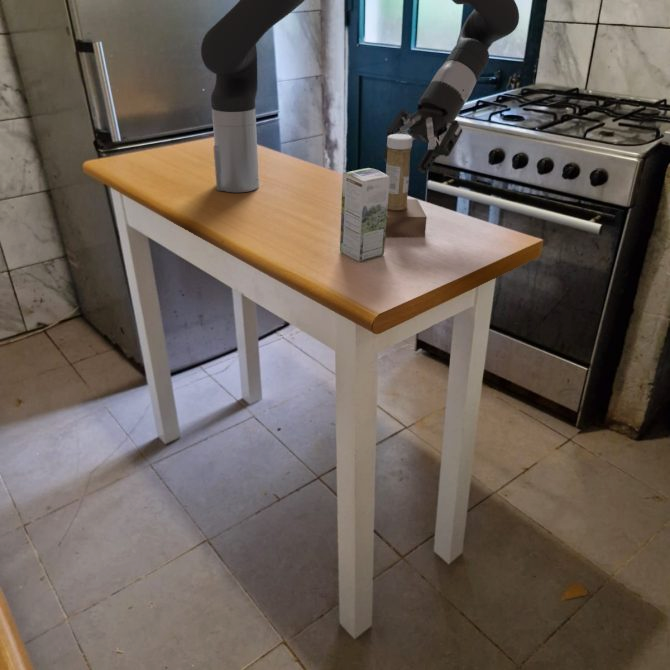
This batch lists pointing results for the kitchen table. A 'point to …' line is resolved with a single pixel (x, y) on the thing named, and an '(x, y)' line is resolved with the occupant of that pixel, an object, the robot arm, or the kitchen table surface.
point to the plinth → (406, 221)
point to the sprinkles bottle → (398, 170)
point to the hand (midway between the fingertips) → (402, 165)
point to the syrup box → (364, 213)
